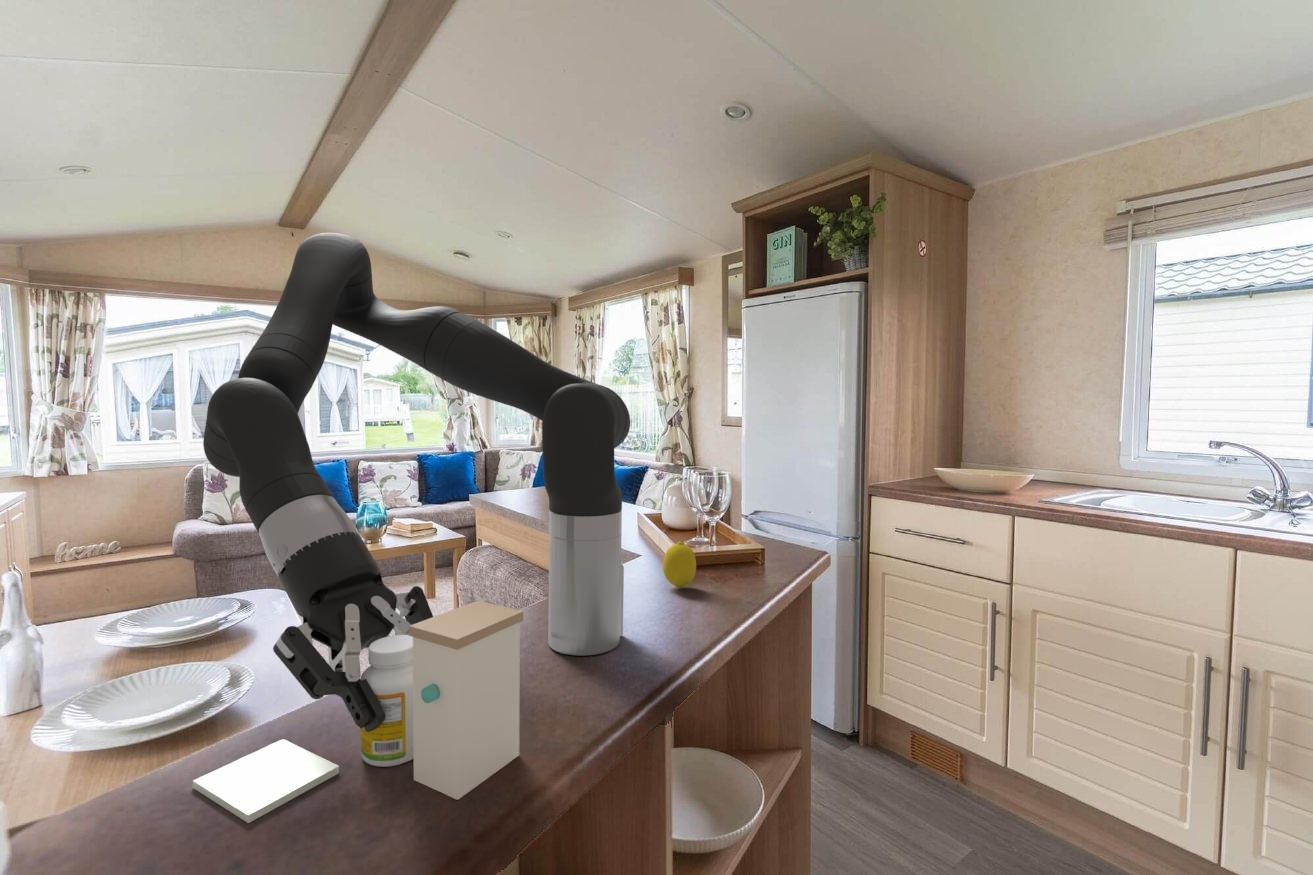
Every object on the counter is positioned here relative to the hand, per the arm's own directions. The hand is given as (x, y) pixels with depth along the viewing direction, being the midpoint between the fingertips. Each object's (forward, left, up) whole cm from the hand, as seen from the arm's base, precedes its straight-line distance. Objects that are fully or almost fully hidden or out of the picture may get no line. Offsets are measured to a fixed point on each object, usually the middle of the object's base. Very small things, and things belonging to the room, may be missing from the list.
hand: (407, 708), depth 53 cm
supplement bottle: (0, -2, -4) cm, 5 cm away
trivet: (+8, -7, -4) cm, 11 cm away
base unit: (-2, +6, -4) cm, 7 cm away
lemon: (-56, -2, -5) cm, 56 cm away
